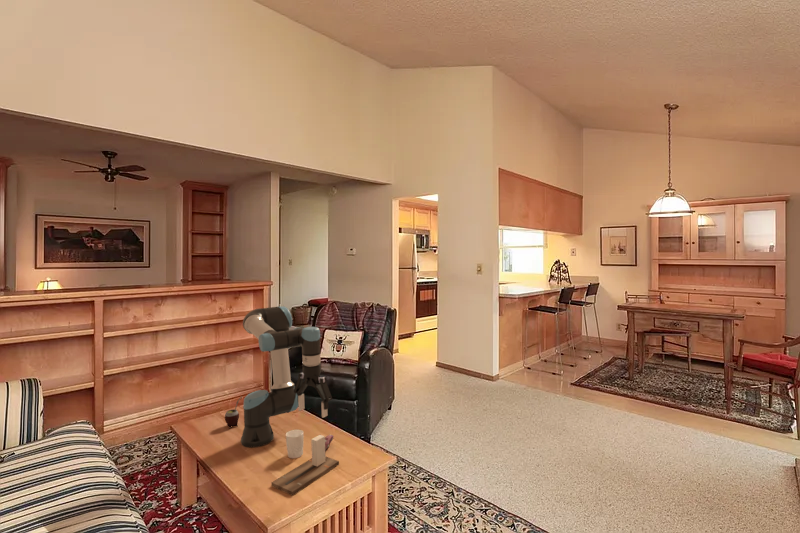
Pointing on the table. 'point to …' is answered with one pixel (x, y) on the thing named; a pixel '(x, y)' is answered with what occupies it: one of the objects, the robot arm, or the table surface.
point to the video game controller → (328, 440)
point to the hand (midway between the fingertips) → (312, 413)
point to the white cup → (294, 443)
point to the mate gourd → (232, 416)
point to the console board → (303, 476)
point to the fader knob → (318, 450)
